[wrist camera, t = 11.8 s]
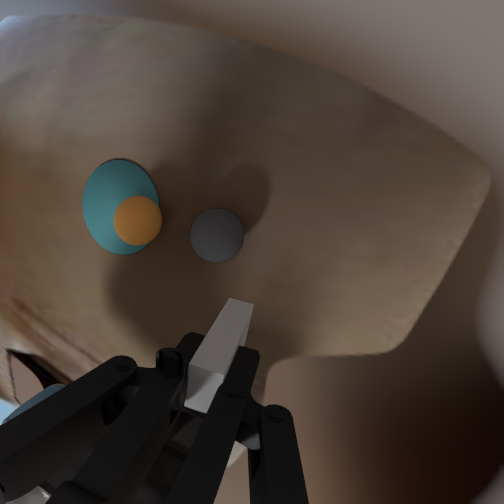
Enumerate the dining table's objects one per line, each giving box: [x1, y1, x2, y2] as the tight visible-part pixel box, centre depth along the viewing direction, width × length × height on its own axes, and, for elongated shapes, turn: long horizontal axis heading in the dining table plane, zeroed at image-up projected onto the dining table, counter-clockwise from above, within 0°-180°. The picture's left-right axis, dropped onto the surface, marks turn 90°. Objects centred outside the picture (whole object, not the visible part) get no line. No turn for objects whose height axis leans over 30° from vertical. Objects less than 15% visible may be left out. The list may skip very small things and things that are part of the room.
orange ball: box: [114, 196, 162, 245], centre depth 33 cm, size 6×6×6 cm
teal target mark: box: [83, 160, 160, 255], centre depth 36 cm, size 12×12×1 cm
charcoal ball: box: [190, 208, 244, 263], centre depth 32 cm, size 6×6×6 cm
